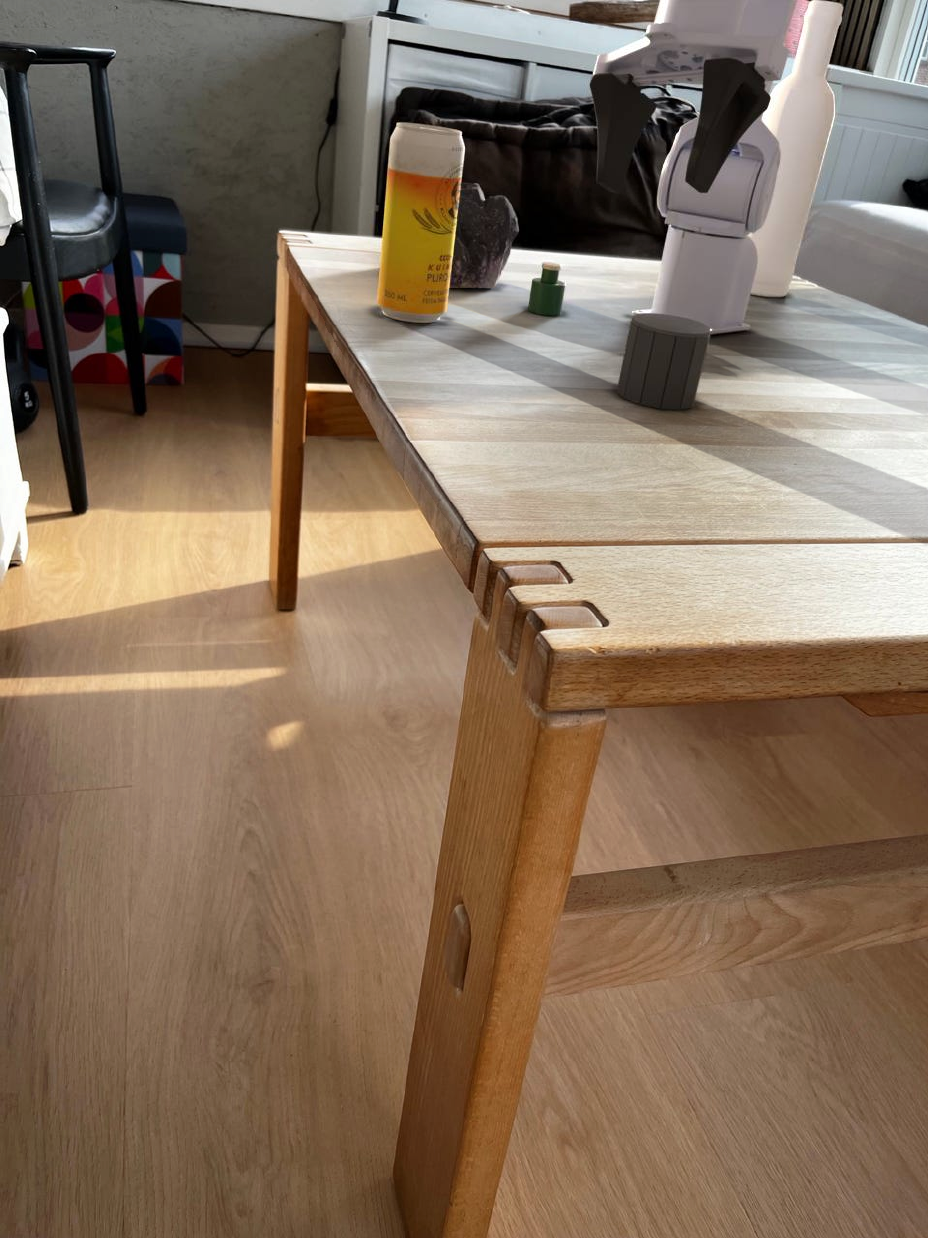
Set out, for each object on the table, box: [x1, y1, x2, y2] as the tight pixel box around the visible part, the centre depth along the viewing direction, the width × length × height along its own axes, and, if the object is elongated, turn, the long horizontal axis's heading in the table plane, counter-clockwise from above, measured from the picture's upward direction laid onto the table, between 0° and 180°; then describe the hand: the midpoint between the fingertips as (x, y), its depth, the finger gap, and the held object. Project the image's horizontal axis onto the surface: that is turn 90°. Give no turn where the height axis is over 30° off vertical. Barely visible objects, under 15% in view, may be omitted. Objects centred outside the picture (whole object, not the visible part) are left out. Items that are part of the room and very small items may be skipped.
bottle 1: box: [527, 261, 567, 317], centre depth 97 cm, size 3×3×4 cm
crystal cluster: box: [449, 182, 520, 289], centre depth 104 cm, size 13×14×10 cm
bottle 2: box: [747, 0, 844, 298], centre depth 116 cm, size 8×8×30 cm
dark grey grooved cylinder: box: [616, 313, 712, 411], centre depth 75 cm, size 6×6×6 cm
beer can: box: [376, 122, 466, 324], centre depth 86 cm, size 6×6×15 cm
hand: (650, 187), depth 72 cm, fingers open, 7 cm apart
